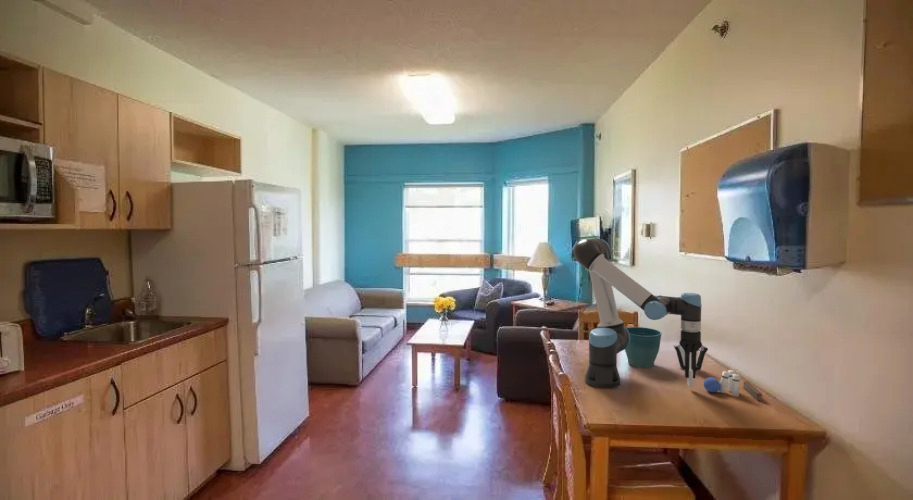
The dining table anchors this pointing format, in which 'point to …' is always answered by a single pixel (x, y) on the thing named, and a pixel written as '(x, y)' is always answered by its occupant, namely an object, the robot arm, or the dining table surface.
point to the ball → (711, 384)
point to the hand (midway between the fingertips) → (690, 385)
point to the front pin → (723, 381)
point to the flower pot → (643, 346)
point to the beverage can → (689, 357)
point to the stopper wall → (752, 391)
